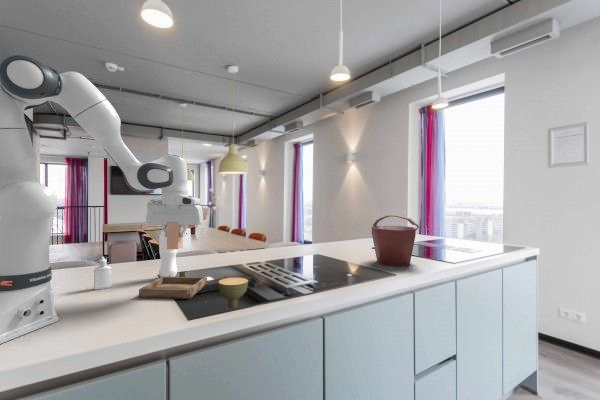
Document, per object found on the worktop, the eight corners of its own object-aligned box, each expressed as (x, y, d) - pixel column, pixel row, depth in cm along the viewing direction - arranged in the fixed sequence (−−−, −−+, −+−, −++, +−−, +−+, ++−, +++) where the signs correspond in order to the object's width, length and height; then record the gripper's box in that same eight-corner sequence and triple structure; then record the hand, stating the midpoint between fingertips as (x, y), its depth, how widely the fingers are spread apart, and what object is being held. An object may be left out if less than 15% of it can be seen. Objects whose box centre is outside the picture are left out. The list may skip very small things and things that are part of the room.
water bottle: (180, 275, 131) (180, 218, 131) (172, 280, 124) (171, 220, 124) (165, 275, 132) (164, 218, 131) (155, 279, 125) (155, 220, 124)
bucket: (427, 265, 151) (428, 216, 151) (397, 270, 140) (397, 217, 140) (390, 256, 172) (390, 213, 172) (361, 261, 161) (361, 214, 161)
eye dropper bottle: (108, 289, 112) (108, 257, 112) (91, 290, 111) (91, 258, 111) (113, 286, 116) (113, 255, 116) (97, 286, 115) (97, 255, 115)
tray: (190, 298, 102) (190, 290, 102) (138, 297, 103) (138, 289, 103) (206, 284, 118) (206, 277, 118) (162, 284, 119) (162, 276, 119)
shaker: (177, 249, 108) (177, 217, 108) (166, 249, 108) (166, 217, 108) (182, 247, 112) (182, 217, 112) (172, 247, 112) (172, 217, 112)
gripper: (142, 199, 107) (142, 238, 107) (198, 199, 106) (198, 238, 106) (151, 199, 113) (151, 235, 114) (204, 199, 113) (204, 236, 113)
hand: (174, 237), depth 110 cm, fingers closed on shaker, 4 cm apart
